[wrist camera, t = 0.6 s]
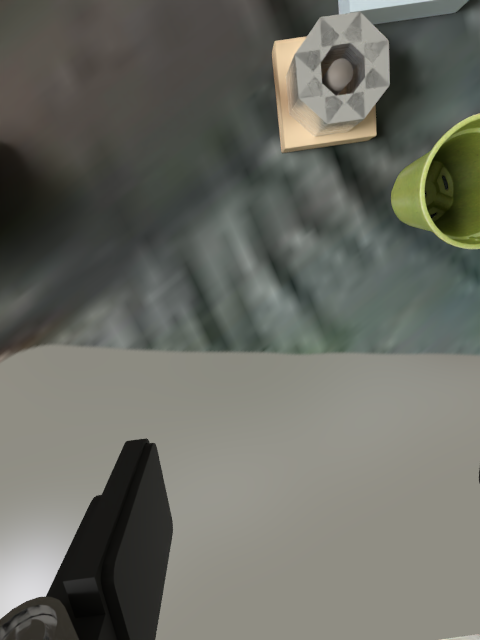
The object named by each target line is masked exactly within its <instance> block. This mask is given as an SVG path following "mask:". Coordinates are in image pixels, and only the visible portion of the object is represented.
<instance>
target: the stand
mask: <svg viewBox="0 0 480 640" xmlns="http://www.w3.org/2000/svg"><path fill="white" fill-rule="evenodd" d="M305 39H306V37H300V38H293V39H286V40H279V41H275V43H274V47H273V50H272V60H273V70H274V80H275V90H276V100H277V110H278V120H279V130H280V141H281V151H282V153H286V152H293V151H300V150H306V149H313V148H320V147H327V146H334V145H341V144H348V143H355V142H362V141H368V140H370V139H371V138H373V137H375V136H376V135H377V133H376V104H375V105H374V107H373V108H372V109H371V111H370V112H369V113H368V115H367V116H366V117H365V119H364V120H362V121H361V122H360V123H358V124H357V125H356V126H354V127H353V128H352V129H350V130H349V131H348V132H344V133H337V134H330V135H323V136H316V137H314V136H313V135H312V134H311V133H310V132H308V131H307V130H306V129H305V128H304V127H303V126H302V125H301V124H299V123H298V122H297V121H296V120H295V119H294V118H293V117H292V116H290V115H289V107H288V96H287V85H286V74H287V72H288V69H289V67H290V64H291V62H292V59H293V57H294V55H295V53H296V52H297V50H298V49H299V48H300V46H301V45H302V43H303V42H304V40H305ZM321 74H322V84H324V85H325V86H326V87H327V88H328V89H329V90H330V91H331V92H332V93H333V94H334V95H335V96H337V95H344V94H347V87H346V85H347V84H348V83H349V82H350V80H351V78H352V75H353V68H352V65H351V63H350V62H349V61H348V60H346V59H337V60H335V61H334V62H333V63H332V65H331V66H330V68H324V69H321Z"/></svg>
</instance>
